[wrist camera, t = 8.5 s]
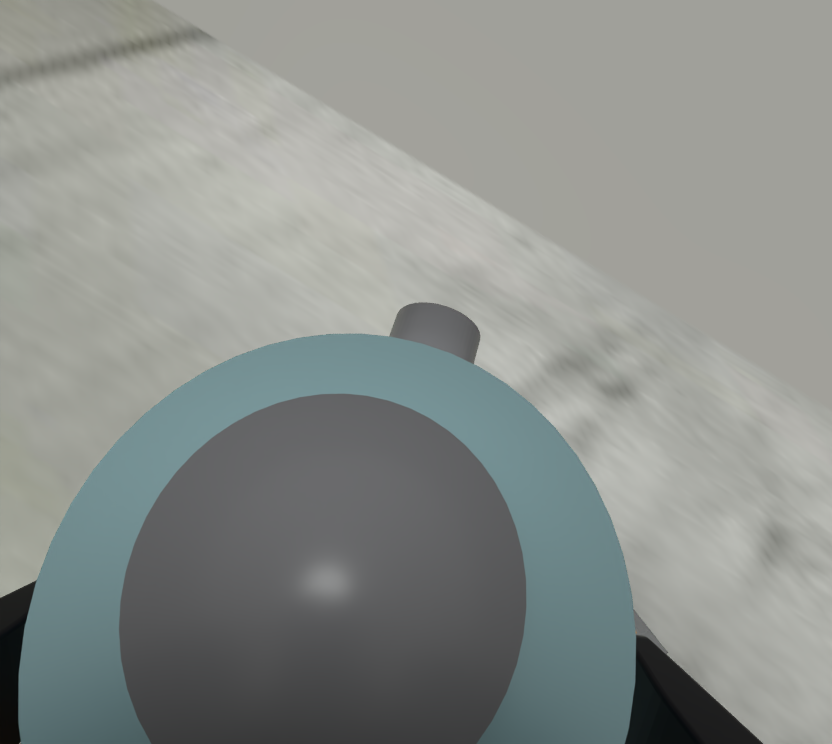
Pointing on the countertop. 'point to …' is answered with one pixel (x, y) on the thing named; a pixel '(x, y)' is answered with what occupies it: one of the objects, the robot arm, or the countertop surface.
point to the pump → (335, 562)
